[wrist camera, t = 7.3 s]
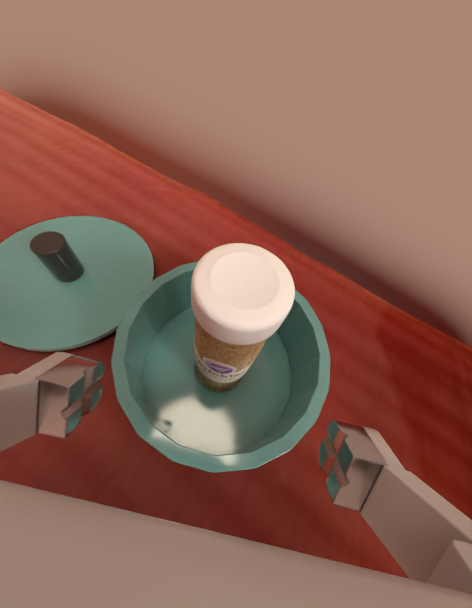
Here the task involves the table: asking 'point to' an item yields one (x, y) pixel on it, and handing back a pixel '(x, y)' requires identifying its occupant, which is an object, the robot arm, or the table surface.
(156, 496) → the table surface
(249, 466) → the pan
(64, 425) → the robot arm
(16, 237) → the pan lid
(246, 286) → the sprinkles bottle
